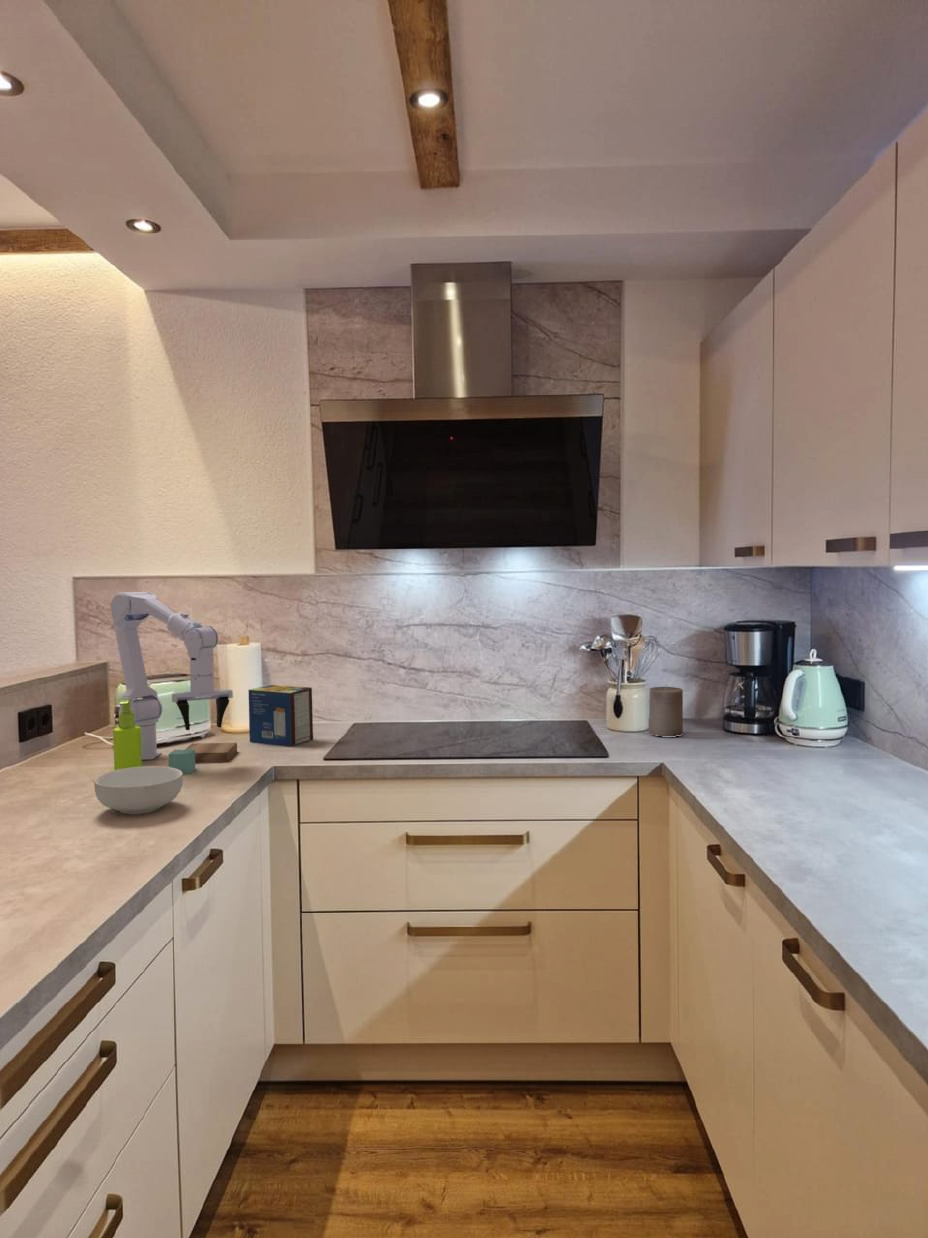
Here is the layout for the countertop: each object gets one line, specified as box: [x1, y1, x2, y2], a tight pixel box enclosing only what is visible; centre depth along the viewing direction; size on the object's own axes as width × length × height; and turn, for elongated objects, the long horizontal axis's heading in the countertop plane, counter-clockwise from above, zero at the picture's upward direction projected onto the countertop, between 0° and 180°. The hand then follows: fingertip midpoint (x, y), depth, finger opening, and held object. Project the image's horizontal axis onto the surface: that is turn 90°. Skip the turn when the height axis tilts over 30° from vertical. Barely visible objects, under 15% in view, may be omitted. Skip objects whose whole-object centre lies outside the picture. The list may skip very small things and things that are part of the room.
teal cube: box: [168, 748, 196, 775], centre depth 198 cm, size 5×5×5 cm
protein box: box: [247, 684, 314, 747], centre depth 233 cm, size 10×15×16 cm
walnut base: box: [185, 742, 238, 764], centre depth 213 cm, size 12×12×3 cm
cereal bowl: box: [93, 765, 184, 815], centre depth 166 cm, size 17×17×7 cm
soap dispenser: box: [112, 698, 143, 771], centre depth 185 cm, size 6×7×20 cm
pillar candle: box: [648, 684, 684, 736], centre depth 237 cm, size 10×10×15 cm
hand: (203, 728), depth 203 cm, fingers open, 7 cm apart
